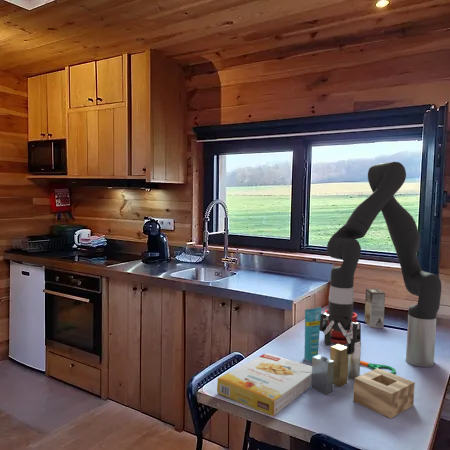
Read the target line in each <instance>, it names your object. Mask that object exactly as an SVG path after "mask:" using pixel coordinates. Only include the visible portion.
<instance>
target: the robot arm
mask: <svg viewBox="0 0 450 450" xmlns="http://www.w3.org/2000/svg"><path fill="white" fill-rule="evenodd" d="M406 178H407V172H406V168H405V166H404V165H403V163H401V162H398V161H389V162H382V163H381V162H380V163H378V164H377V163H376V164H373V165H371V166H370V167H369V169H368V172H367V181H368V184H369V186H370V189H371V191H372V193H371V194H369V196H368V197H366V198H365V199H364V200H363V201H362V202H360V203H359V205H357V206H356V207H355V208H354V210H353V211H352V213H351V215H350V216H349V218H348V219H347V221H346V222H345V224H344V225H342V226H341V227H340V228H339V229H338V230H337V231H336V232H334V234H333V235H332V236H331V237H330V239H329V240H328V242H327V245H326V251H327V255H328V256H330V258H332V259H336V260H342V263H341V265H340V266H334V267H332V269H331V272H330V285H329V291H328V292H329V293H328V309H327V310H328V313H329V315H328V313H321V318H320V328H319V330H320V332H322V333H323V334H324V340H323V343H324V345H325V346H326V347H331V346H332V342H331V335H332V334H330V333H331V332H332V331H333V330H334V331H338V332H340V333H343V335H344V337H346V339H347V341H348V343H347V344H346V347H347V354H349V355H350V354H352V353H354V345H355V343H357V342H361V341H362V339H361V335H362V333H361V332H362V328H361V327H362V324H361V322H359V321H357V323H354V322H352V319H351V318H352V315H353V312H354V297H355V295H354V293H355V292H354V283H355V282H354V281H355V280H354V278H355V273H356V270H357V267H358V263H359V261H360V258H361V255H362V248H361V244H360V242H359V241H358V240H359V239H362V238H364V237H365V235H367V233H368V231H369V229H370V228H371V226H372V224H373V223H374V221H375V219H376V218H377V217H378V215H379V214H380V212H381V213H382V216H383V218H384V221H385V224H386V227H387V231H388V233H389V236H390V239H391V242H392V244H393V247H394V250H395V253H396V255H397V259H398V262H399V265H400V270H401V275H402V279H403V282H404V286H405V289H406V290H407V292H409V293H410V294H411V295H413V296H416V297H418V299H417V304H412V305H409V307H408V312H407V332H406V351H405V361H406V362H407V363H408V364H411V365H413V366H415V367H421V368H428V367H433V366H434V362H435V351H436V332H437V331H436V329H437V314H438V312H439V309H440V303H441V297H442V280H441V278H440V277H439V276H438V275H437V274H434V273H431V272H428V271H424V270H423V269H422V267H421V265H420V262H419V259H418V251H419V247H420V244H421V243H420V242H421V236H420V232H419V229H418V226H417V223H416V221H415V218H414V217H413V215H411V213H409V211H408V210H407V209H406V208H405V207H403V206H402V204H400V202H399V201H398V200H397V199H396V197H395V196H394V195H396V194H397V192H398V191H399V190H400V189H401V188H402V187H403V185H404V184H405V181H406ZM328 320H329V322H330V324H329V325H328V326H327V324H328ZM351 326H352V329H353V331H352V329H351ZM347 331H348V333H347ZM325 346H324V347H325Z"/></svg>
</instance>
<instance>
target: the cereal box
mask: <svg viewBox="0 0 450 450" xmlns="http://www.w3.org/2000/svg"><path fill="white" fill-rule="evenodd" d="M311 384H312V365H309V364H304V363H302V362H298V361H296V360H292V359H287V358H285V357H281V356H279V355H275V354H272V353H270V352H265V353H263V354H262V355H259V356H257V357H256V358H253V359H252V360H250V361H248V362H246V363H245V364H242V365H241V366H238V367H237V368H235V369H233V370H231V371H229V372H227V373H225V374H223V375H221V376H220V377H218V378H217V385H216V393H217V394H218V395H220V396H223V397H226V398H228V399H230V400H232V401H234V402H238V403H240V404H241V405H244V406H247V407H248V408H251V409H253V410H255V411H258V412H261V413H263V414H266V415H268V416H272V417H275V415H277V414H278V413H279V412H280V411H282V410H283V409H284V408H286V407H287V406H288V405H289V404H290V403H291V402H294V400H296V399H297V398H298V397H299V396H300V395H302V394H303V393H305V391H308V389H309V388H311Z"/></svg>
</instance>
